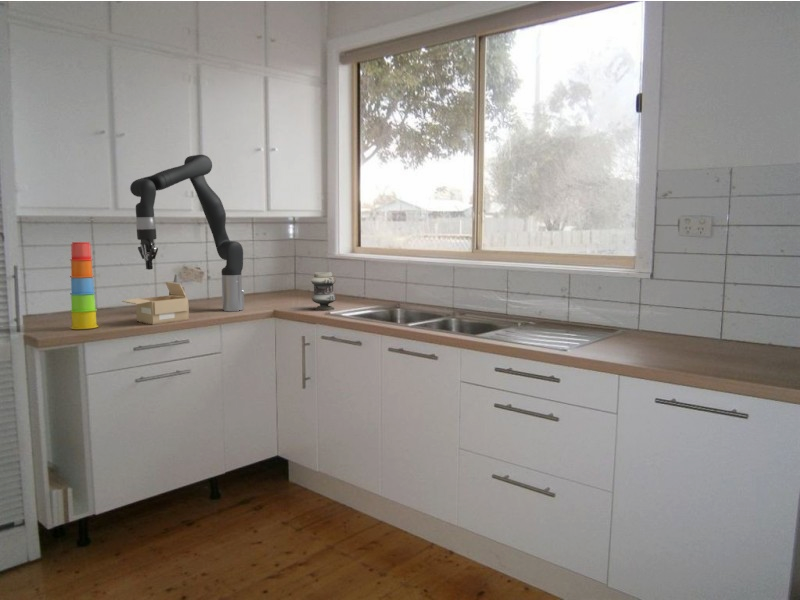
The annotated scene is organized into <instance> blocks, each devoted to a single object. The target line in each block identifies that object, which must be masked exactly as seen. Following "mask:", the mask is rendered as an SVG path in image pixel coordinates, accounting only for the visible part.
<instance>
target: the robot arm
mask: <svg viewBox="0 0 800 600" xmlns="http://www.w3.org/2000/svg"><path fill="white" fill-rule="evenodd" d="M212 169H213V162H212V159H211V157H209V156H208V155H205V154H194V155H189V156H186V158H185V159H184V163H183V164H182V165H179V166H175V167H171V168H168V169H164V170H161V171H159V172H157V173H154V174H152V175H149V176H145V177H141V178H138V179H135V180H134V181H133V182H131V183H130V188H129V189H130V192H131V194H132V195H133V196H135V197H137V198H140V201H139V203H138V202H137V204H136V205H135V216H136V219H135V225H136V226H135V227H136V237H137V240H139V241H140V243H139V244H140V246H137V250H138V252H139V254H140V257H141V259H142V260H144V261H145V269H146V270H147V271H149V270H153V269H154V268H153V261H154V260H155V259H156V256H157V253H158V251H159V247H156V246H155V241H154V240H156V239H157V225H156V220H155V209H154V207H155V202H156V196H157V191H162V190H164V189H168V188H170V187H172V186H174V185H177V184H179V183H181V182H184V181H185V180H189V181H190V183H191V185H192V186H193V189H194V191H195V194H196V196H197V198H198V201H199V204H200V205H201V208H202V211H203V214H204V216H205V218H206V219H205V220H207V223H208V226H209V230H210V231H211V234H212V237H213V238H212V239H213V241H214V244H215V248H216V251H217V254H218V256H219V257H220V259H222V260H224V261H226V262H225V266H224V267H223V268H222V269H221V290H222V291H221V294H222V311H223V310H224V311H223V312H239V310H240V311H243V309H244V310H245V291H244V289H243V283H242V282H243V281H242V280H243V279H242V270H243V269H244V268H243V267H244V249H243V245H242V244H241V243H240V242H238V241H235V240H233V241H232V240H230V238H229V235H228V232H227V230H226V221H227V220H226V219H227V216H226V215H227V214H226V210H225V208H224V205H223V201H222V200H221V198H220V197H219V196H218V194H217V193H216V192H215V191H214V189H212V188H211V187H210V185H209V184H208V182H207V180H206V178H205V176H206V175H208V174H210V172H211V171H212Z"/></svg>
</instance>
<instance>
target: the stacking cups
mask: <svg viewBox="0 0 800 600" xmlns="http://www.w3.org/2000/svg"><path fill="white" fill-rule="evenodd" d="M70 245H71V246H70V247H71V248H70V249H71V259H69V261H70V263H71V264H70V266H71V267H70V270H71V273H70V274H71V275H70V276H69V278H70V282H71V283H70V286H71V292H70V293H69V294H70V300H71V309H70V310H69V312H70V313H71V326H70V329H71V330H90V329H97V328H99V325H98V324H97V323H98V322H97V311H98V309H97V308H96V300H95V294H96V292H95V290H94V289H95V288H94V277H95V275H93V262H92V261H93V259H92V246H91V243H90V242H87V241H86V242H81V241H79V242H78V241H77V242H76V241H74V242H73V241H72V242H71V244H70Z"/></svg>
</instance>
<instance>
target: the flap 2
mask: <svg viewBox="0 0 800 600" xmlns="http://www.w3.org/2000/svg"><path fill="white" fill-rule="evenodd" d="M173 282H174V281H173ZM173 282H172V281H164V283H165V285H166V287H167V289H168V291H170V293H171V294H175V295H182V296H185V297H186V296H187V294H186V291H185V289H184V290H183V288H182V287H183V285H182V286H181V284H180V283H173ZM184 291H185V292H184Z"/></svg>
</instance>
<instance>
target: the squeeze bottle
mask: <svg viewBox="0 0 800 600" xmlns="http://www.w3.org/2000/svg"><path fill="white" fill-rule="evenodd" d="M173 283H180V284H181V286H182V288H183V290H184V292H185V293H186V291H185V287H184V286H183V284H182V283H183V282H181V281H180V278H179V275H178V274H174V279H173ZM168 291H169V290H168ZM170 295H173V296H179V297H186V296H182V295H175V294H171V293H170V291H169V293H168V296H170Z"/></svg>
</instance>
